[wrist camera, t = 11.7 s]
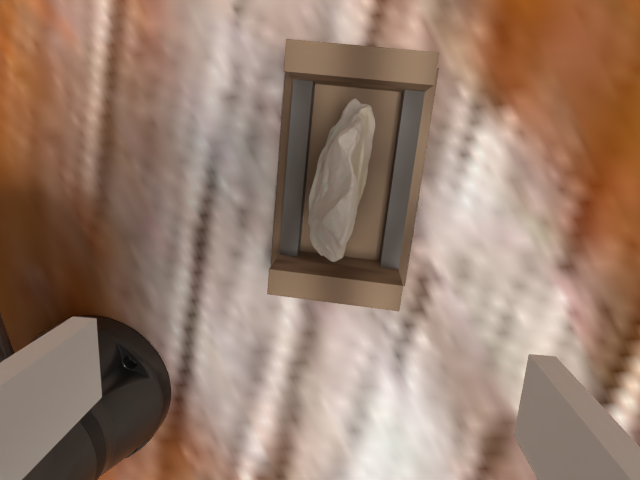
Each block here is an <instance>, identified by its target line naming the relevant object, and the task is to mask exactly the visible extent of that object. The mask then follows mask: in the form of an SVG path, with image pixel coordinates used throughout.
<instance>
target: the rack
mask: <svg viewBox="0 0 640 480" xmlns="http://www.w3.org/2000/svg"><path fill="white" fill-rule="evenodd" d="M438 57H439V53H438V52H427V51H416V50H404V49H393V48H382V47H370V46H359V45H348V44H336V43H325V42H314V41H302V40H291V39H286V49H285V63H284V72H285V83H284V97H283V110H282V123H281V136H280V150H279V163H278V176H277V190H276V203H275V216H274V229H273V243H272V256H271V267H270V269H269V277H268V291H267V294H270V295H278V296H285V297H293V298H301V299H309V300H316V301H324V302H332V303H340V304H347V305H355V306H363V307H370V308H378V309H386V310H394V311H399V309H400V303H401V296H402V290H403V286H405V282H406V276H407V269H408V263H409V256H410V250H411V243H412V237H413V231H414V224H415V218H416V211H417V205H418V199H419V192H420V186H421V179H422V173H423V166H424V160H425V154H426V147H427V141H428V134H429V128H430V122H431V115H432V109H433V102H434V96H435V89H436V83H437V77H438V70H439V68H437V63H438ZM353 99H357V100H358V101H359V102H360V103H361V104H368V105H370V106H371V108H372V112H373V115H374V118H375V130H374V135H373V141H372V150H371V156H370V159H369V163H368V173H367V179H366V184H365V187H364V190H363V194H362V197H361V199H360V202H359V205H358V208H357V215H356V218H355V224H354V228H353V231H352V234H351V236H350V238H349V240H348V241H347V243H346V248H345V252H344V256H343V258H341V259H339V260H337V261H335V262H332V261H330V260H329V259H328V258H326V257H325V256H324V255H323V256H321V255H320V254H319V253H318V251H317V250H316V249H315V248H314V247H313V245H312V243H311V240H310V236H309V235H310V226H309V224H308V218H309V209H308V208H309V195H310V191H311V188H312V184H313V180H314V177H315V174H316V170H317V163H318V160H319V157H320V154H321V152H322V150H323V148H324V147H325V146H326V143H327V139H328V136H329V132H330V130H331V128H332V127H334V126H335V125H336V124H337V123H338V121H339V120H340V118H341V115H342V112H343V110H344V108H345V107H346V106H347V105H348V103H349V102H350V101H351V100H353Z"/></svg>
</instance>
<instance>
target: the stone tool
mask: <svg viewBox="0 0 640 480" xmlns="http://www.w3.org/2000/svg"><path fill="white" fill-rule="evenodd" d="M374 130H375V118H374V115H373V112H372V108H371V106H370V105H368V104H361V103H360V102H359V101H358V100H357V99H353V100H351V101H350V102H349V103H348V105H347V106H346V107H345V108H344V110H343V112H342V115H341V118H340V120H339V121H338V123H337V124H336V125H335V126H334V127H332V128H331V130H330V132H329V136H328V139H327V143H326V146H325V147H324V148H323V150H322V152H321V154H320V157H319V160H318V163H317V170H316V174H315V177H314V180H313V184H312V188H311V191H310V195H309V208H308V209H309V218H308V224H309V226H310V235H309V236H310V240H311V243H312V245H313V247H314V248H315V249H316V250H317V251H318V253H319V254H320V255H321V256H323V255H324V256H325V257H326V258H328V259H329V260H330V261H332V262H335V261H337V260H339V259H341V258H343V256H344V252H345V248H346V243H347V241H348V240H349V238H350V236H351V234H352V231H353V228H354V224H355V218H356V215H357V208H358V205H359V202H360V199H361V197H362V194H363V190H364V187H365V184H366V179H367V173H368V163H369V159H370V156H371V150H372V141H373V135H374Z"/></svg>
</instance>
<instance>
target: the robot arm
mask: <svg viewBox="0 0 640 480" xmlns="http://www.w3.org/2000/svg"><path fill="white" fill-rule="evenodd" d="M170 398H171V389H170V381H169V377H168V374H167V371H166V368H165V366H164V364H163V362H162V360H161V358H160V357H159V355H158V354H157V352H156V351H155V349H154V348H153V347H152V346H151V345H150V344H149V343H148V342H147V341H146V340H145V339H144V338H143V337H142V336H141V335H140V334H138V333H137V332H136V331H134V330H133V329H131V328H129V327H128V326H126V325H124V324H122V323H119V322H117V321H114V320H111V319H108V318H104V317H98V316H78V317H71V318H69V319H66V320H63V321H61V322H59V323H57V324H55V325H54V326H52V327H50V328H49V329H47V330H45V331H44V332H42V333H41V334H39V335H38V336H37V337H35V338H34V339H33V340H32V341H31V342H30V343H29V344H28V345H27V346H26V347H24V348H22V349H21V350H19V351H18V352H16V353H15V354H14V352H13V349H12V346H11V343H10V340H9V337H8V334H7V331H6V328H5V326H4V323H3V320H2V317H1V314H0V480H97V479H98V478H99V477H100V476H101V475H103V474H104V473H105V472H107V471H108V470H109V469H111V468H112V467H113V466H115V465H116V464H118V463H119V462H120V461H122V460H123V459H125V458H127V457H129V456H131V455H132V454H134V453H136V452H137V451H139V450H140V449H141V448H142V447H144V446H145V445H146V444H147V443H148V442H149V441H150V439H151V438H152V437H153V435H154V434H155V433H156V431H157V430H158V428H159V427H160V426H161V424H162V423H163V421H164V419H165V417H166V415H167V412H168V409H169V405H170ZM514 437H515V439H516V440H517V442H518V444H519V446H520V448H521V450H522V452H523V453H524V455H525V457H526V459H527V461H528V463H529V464H530V466H531V468H532V470H533V472H534V474H535V476H536V477H537V479H538V480H640V447H639V446H638V445H637V443H636V442H635V441H634V440H633V439H632V438H631V437H630V436H629V435H628V434H627V433H626V432H625V431H624V429H623V428H622V427H621V426H620V425H619V424H618V423H617V422H616V421H615V420H614V419H613V418H612V417H611V415H610V414H609V413H608V412H607V411H606V410H605V409H604V408H603V407H602V406H601V405H600V404H599V403H598V401H597V400H596V399H595V398H594V397H593V396H592V395H591V394H590V393H589V392H588V391H587V390H586V389H585V387H584V386H583V385H582V384H581V383H580V382H579V381H578V380H577V379H576V378H575V377H574V376H573V375H572V374H571V372H570V371H569V370H568V369H567V368H566V367H565V366H564V365H563V364H562V363H561V362H560V361H559V360H558V358H557V357H555V356H543V355H531V354H529V356H528V362H527V367H526V373H525V378H524V384H523V389H522V394H521V400H520V405H519V411H518V416H517V422H516V427H515V433H514Z"/></svg>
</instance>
